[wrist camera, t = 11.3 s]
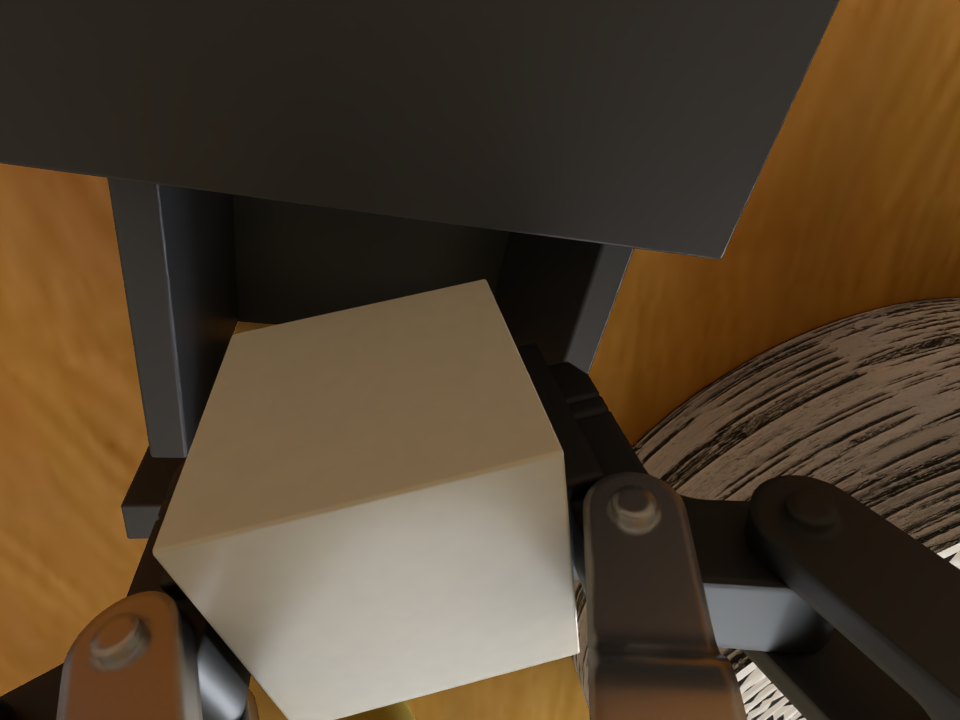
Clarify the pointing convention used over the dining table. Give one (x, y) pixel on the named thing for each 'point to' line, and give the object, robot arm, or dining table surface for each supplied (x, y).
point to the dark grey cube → (422, 105)
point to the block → (376, 506)
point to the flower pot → (385, 713)
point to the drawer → (315, 292)
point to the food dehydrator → (826, 438)
